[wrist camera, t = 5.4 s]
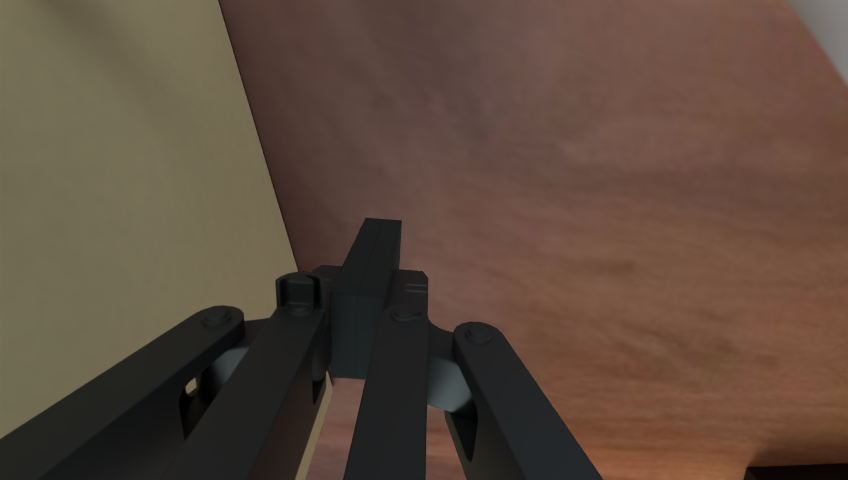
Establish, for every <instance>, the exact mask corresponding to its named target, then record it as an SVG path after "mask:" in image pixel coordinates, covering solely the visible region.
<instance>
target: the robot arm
mask: <svg viewBox="0 0 848 480" xmlns="http://www.w3.org/2000/svg"><path fill="white" fill-rule="evenodd" d="M401 225H402V221H401V220H387V219H374V218H365V220H364V223H363V225H362V227H361V229H360V231H359V233H358V235H357V237H356V239H355V241H354V243H353V245H352V247H351V249H350V251H349V253H348V255H347V257H346V260H345V262H344V264H343V266H330V265H321V266H320V267H318V268H316V269H315V270H313V271H312V272H293V273H288V274H285V275H283V276H280V277H279V278H278V279H276V280H275V286H276V303H277V308H276V309H275V311H274V312H273V314H272V315H271V317H270V318H264V319H257V320H247V321H245V320H244V313H243V312H242V310H241V309H239V308H236V307H234V306H225V305H220V306H212V307H210V308H206V309H203V310H201V311H199V312H197V313H195V314H193V315H191V316H190V317H188V318H187V319H185V320H184V321H182V322H181V323H179V324H178V325H176V326H174V327H173V328H171V329H170V330H168V331H167V332H165V333H164V334H162V335H160V336H159V337H157V338H156V339H154V340H153V341H151V342H150V343H148V344H146V345H145V346H143V347H142V348H140V349H139V350H137V351H136V352H134V353H133V354H131V355H129V356H128V357H126V358H125V359H123V360H122V361H120V362H119V363H117V364H115V365H114V366H112V367H111V368H109V369H108V370H106V371H105V372H103V373H102V374H100V375H98V376H97V377H95V378H94V379H92V380H91V381H89V382H88V383H86V384H84V385H83V386H81V387H80V388H78V389H77V390H75V391H74V392H72V393H71V394H69V395H67V396H66V397H64V398H63V399H61V400H60V401H58V402H57V403H55V404H53V405H52V406H50V407H49V408H47V409H46V410H44V411H43V412H41V413H40V414H38V415H36V416H35V417H33V418H32V419H30V420H29V421H27V422H26V423H24V424H22V425H21V426H19V427H18V428H16V429H15V430H13V431H12V432H10V433H9V434H7V435H5V436H4V437H2V438H1V439H0V480H295V478H296V475H297V472H298V469H299V467H300V464H301V461H302V458H303V455H304V452H305V449H306V446H307V443H308V440H309V437H310V434H311V431H312V429H313V426H314V423H315V420H316V417H317V414H318V411H319V408H320V405H321V402H322V399H323V396H324V393H325V391H326V372H327V370H328V367H329V364H330V377H338V378H352V379H366V381H365V385H364V389H363V394H362V398H361V403H360V407H359V412H358V416H357V421H356V425H355V429H354V434H353V438H352V443H351V447H350V452H349V456H348V460H347V465H346V469H345V474H344V478H343V480H425V475H426V422H427V404H428V405H431V406H434V407H437V408H440V409H443V410H445V419H446V422H447V425H448V428H449V431H450V433H451V436H452V439H453V442H454V445H455V448H456V450H457V453H458V456H459V459H460V462H461V464H462V467H463V470H464V473H465V476H466V479H467V480H603V479H602V477H601V476H600V474H599V473H598V471H597V470H596V468H595V467H594V465H593V464H592V463H591V461H590V460H589V458H588V457H587V455H586V454H585V452H584V451H583V450H582V448H581V447H580V445H579V444H578V442H577V441H576V439H575V438H574V437H573V435H572V434H571V432H570V431H569V429H568V428H567V426H566V425H565V424H564V422H563V421H562V419H561V418H560V416H559V415H558V413H557V412H556V411H555V409H554V408H553V406H552V405H551V403H550V402H549V400H548V399H547V397H546V396H545V395H544V393H543V392H542V390H541V389H540V387H539V386H538V384H537V383H536V382H535V380H534V379H533V377H532V376H531V374H530V373H529V371H528V370H527V369H526V367H525V366H524V364H523V363H522V361H521V360H520V358H519V357H518V356H517V354H516V353H515V351H514V350H513V348H512V347H511V345H510V344H509V342H508V341H507V340H506V338H505V337H504V335H503V334H502V333H501V332H500V331H499V330H498V329H497V328H495V327H493V326H491V325H489V324H486V323H482V322H467V323H462V324H460V325H459V326H457V327H456V328H455V330H454V332H449V331H446V330H443V329H440V328H438V327H437V326H435V325H434V324H432V323H431V322H430V320H429V319H428V315H427V311H428V277H427V276H426V275H425V274H424V272H423V271H414V270H400V269H399V261H400V243H401ZM194 378H195V380H196V388H195V389H194V390H192V391H191V392H190V393H188V394H187V392H186V386H187V384H188V383H189V382H190V381H191V380H193V379H194Z"/></svg>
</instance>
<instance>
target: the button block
mask: <svg viewBox="0 0 848 480" xmlns="http://www.w3.org/2000/svg"><path fill="white" fill-rule="evenodd" d="M744 480H848V464H824V465H799V466H774V467H750V468H747V471H746V474H745V478H744Z"/></svg>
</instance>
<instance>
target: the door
mask: <svg viewBox="0 0 848 480" xmlns="http://www.w3.org/2000/svg"><path fill="white" fill-rule="evenodd" d="M293 272H298V269H297V266H296V263H295V259H294V256H293V253H292V249H291V246H290V242H289V239H288V236H287V232H286V229H285V225H284V222H283V219H282V215H281V212H280V209H279V205H278V202H277V198H276V195H275V192H274V188H273V185H272V182H271V178H270V175H269V171H268V168H267V165H266V161H265V158H264V155H263V151H262V148H261V144H260V141H259V138H258V134H257V131H256V127H255V124H254V121H253V117H252V114H251V111H250V107H249V104H248V100H247V97H246V94H245V90H244V87H243V84H242V80H241V77H240V73H239V70H238V67H237V63H236V60H235V56H234V53H233V50H232V46H231V43H230V40H229V36H228V33H227V29H226V26H225V23H224V19H223V16H222V13H221V9H220V6H219V2H218V0H0V439H1V438H2V437H4V436H5V435H7V434H9V433H10V432H12V431H13V430H15V429H16V428H18V427H19V426H21V425H22V424H24V423H26V422H27V421H29V420H30V419H32V418H33V417H35V416H36V415H38V414H40V413H41V412H43V411H44V410H46V409H47V408H49V407H50V406H52V405H53V404H55V403H57V402H58V401H60V400H61V399H63V398H64V397H66V396H67V395H69V394H71V393H72V392H74V391H75V390H77V389H78V388H80V387H81V386H83V385H84V384H86V383H88V382H89V381H91V380H92V379H94V378H95V377H97V376H98V375H100V374H102V373H103V372H105V371H106V370H108V369H109V368H111V367H112V366H114V365H115V364H117V363H119V362H120V361H122V360H123V359H125V358H126V357H128V356H129V355H131V354H133V353H134V352H136V351H137V350H139V349H140V348H142V347H143V346H145V345H146V344H148V343H150V342H151V341H153V340H154V339H156V338H157V337H159V336H160V335H162V334H164V333H165V332H167V331H168V330H170V329H171V328H173V327H174V326H176V325H178V324H179V323H181V322H182V321H184V320H185V319H187V318H188V317H190V316H191V315H193V314H195V313H197V312H199V311H201V310H203V309H206V308H210V307H212V306H220V305H225V306H234V307H236V308H239V309H241V310H242V312H243V313H244V320H245V321H247V320H257V319H264V318H270V317H271V315H272V314H273V312H274V311H275V309H276V308H277V303H276V286H275V280H276V279H278V278H279V277H280V276H283V275H285V274H288V273H293ZM195 388H196V380H195V378H194V379H193V380H191V381H190V382H189V383H188V384H187V386H186V392H187V394H188V393H190V392H191V391H192V390H194V389H195ZM332 393H333V388H332V384H331V381H330V378H329V374H328V371H327V372H326V391H325V393H324V396H323V399H322V402H321V405H320V408H319V411H318V414H317V417H316V420H315V423H314V426H313V429H312V431H311V434H310V437H309V440H308V443H307V446H306V449H305V452H304V455H303V458H302V461H301V464H300V467H299V469H298V472H297V475H296V478H295V480H305V479H306V476H307V472H308V469H309V466H310V463H311V460H312V457H313V453H314V450H315V447H316V444H317V441H318V438H319V434H320V431H321V428H322V425H323V422H324V418H325V415H326V412H327V409H328V406H329V403H330V399H331V396H332Z"/></svg>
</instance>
